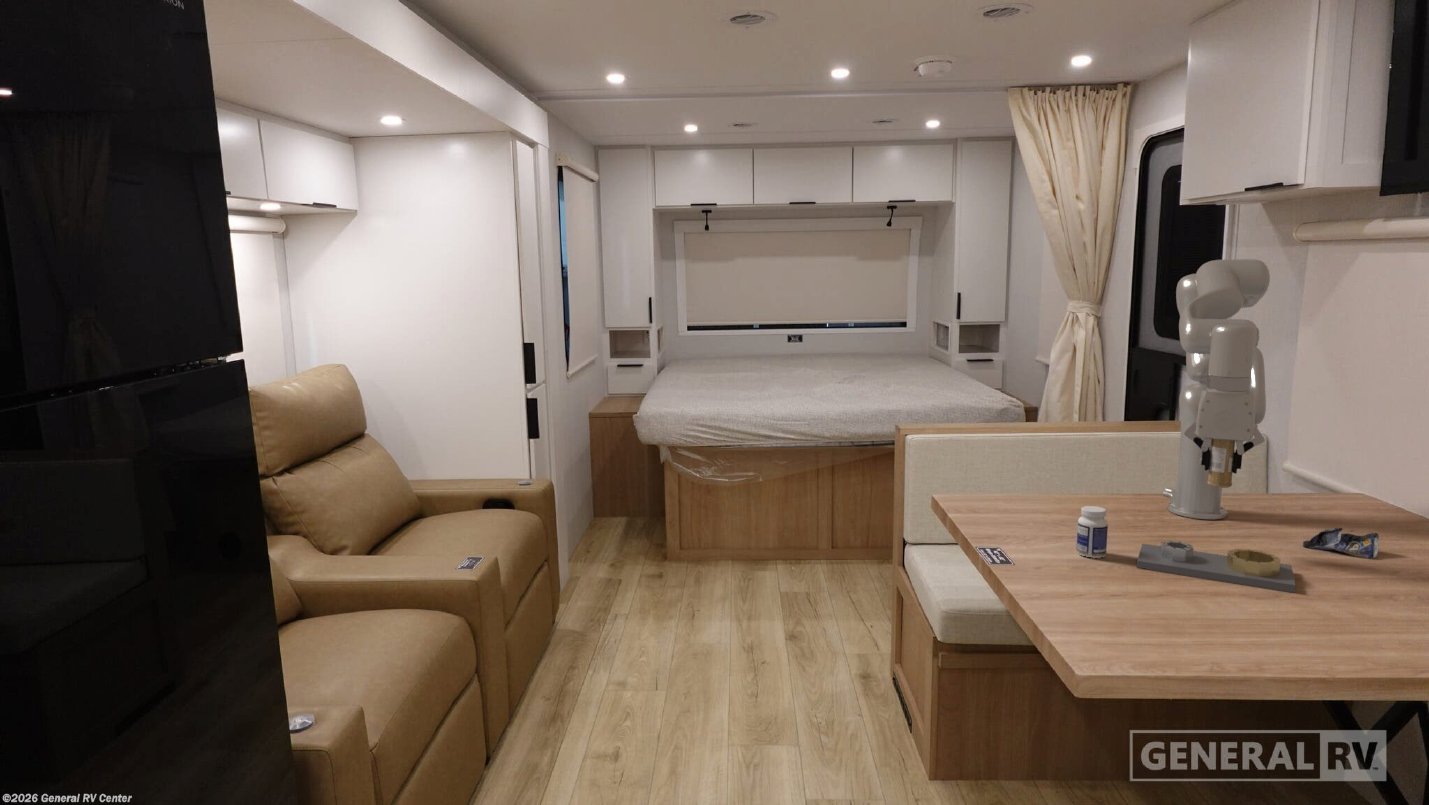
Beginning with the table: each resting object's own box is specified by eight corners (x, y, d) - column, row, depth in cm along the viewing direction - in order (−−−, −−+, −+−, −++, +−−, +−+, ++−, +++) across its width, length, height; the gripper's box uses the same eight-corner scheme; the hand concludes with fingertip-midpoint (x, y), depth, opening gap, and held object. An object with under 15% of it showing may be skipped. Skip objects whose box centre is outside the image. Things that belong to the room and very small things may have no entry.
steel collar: (1154, 555, 168) (1155, 543, 168) (1172, 551, 171) (1173, 539, 170) (1179, 563, 163) (1180, 551, 163) (1198, 559, 166) (1199, 547, 165)
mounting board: (1136, 567, 166) (1137, 560, 165) (1142, 550, 176) (1142, 543, 175) (1294, 593, 152) (1295, 585, 152) (1290, 572, 162) (1291, 565, 162)
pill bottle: (1106, 552, 175) (1109, 506, 173) (1106, 560, 170) (1109, 514, 168) (1076, 548, 177) (1079, 503, 176) (1075, 557, 172) (1078, 510, 170)
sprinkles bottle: (1237, 487, 171) (1243, 424, 169) (1216, 489, 171) (1222, 425, 168) (1220, 481, 176) (1226, 419, 173) (1201, 482, 175) (1206, 420, 173)
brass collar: (1216, 565, 162) (1217, 553, 162) (1245, 558, 166) (1246, 546, 165) (1260, 579, 155) (1261, 567, 154) (1289, 572, 158) (1290, 560, 158)
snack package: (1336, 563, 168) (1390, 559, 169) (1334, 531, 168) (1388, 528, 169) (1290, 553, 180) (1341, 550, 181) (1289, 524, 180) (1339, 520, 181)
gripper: (1180, 384, 170) (1173, 469, 174) (1279, 389, 162) (1269, 480, 165) (1182, 378, 177) (1175, 461, 180) (1277, 384, 168) (1268, 471, 171)
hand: (1220, 469), depth 173 cm, fingers closed on sprinkles bottle, 4 cm apart
